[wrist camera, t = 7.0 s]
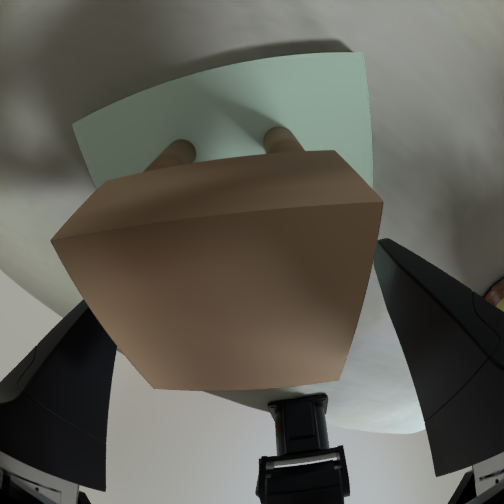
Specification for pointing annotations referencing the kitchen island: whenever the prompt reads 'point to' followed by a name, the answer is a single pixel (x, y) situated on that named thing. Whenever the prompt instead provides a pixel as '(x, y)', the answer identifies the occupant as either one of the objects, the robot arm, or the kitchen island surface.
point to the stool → (228, 265)
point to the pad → (236, 114)
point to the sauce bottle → (496, 295)
